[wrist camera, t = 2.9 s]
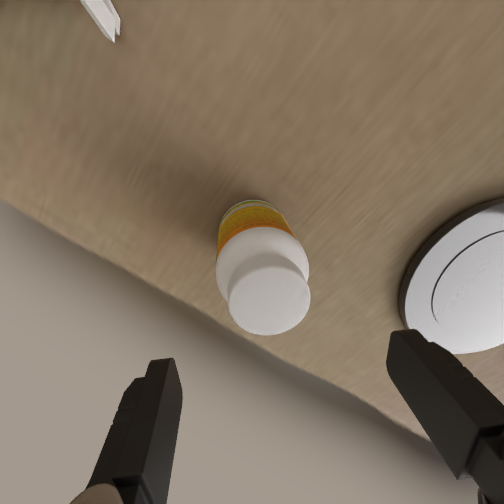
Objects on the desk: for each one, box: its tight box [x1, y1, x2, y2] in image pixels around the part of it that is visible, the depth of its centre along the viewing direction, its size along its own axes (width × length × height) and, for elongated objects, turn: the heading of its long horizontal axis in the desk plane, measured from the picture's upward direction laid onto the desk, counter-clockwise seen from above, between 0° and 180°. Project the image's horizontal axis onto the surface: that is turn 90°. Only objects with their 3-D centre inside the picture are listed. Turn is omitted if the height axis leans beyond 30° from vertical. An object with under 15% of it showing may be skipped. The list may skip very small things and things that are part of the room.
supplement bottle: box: [215, 200, 310, 335], centre depth 17 cm, size 5×5×10 cm
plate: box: [399, 198, 504, 354], centre depth 25 cm, size 16×16×1 cm
